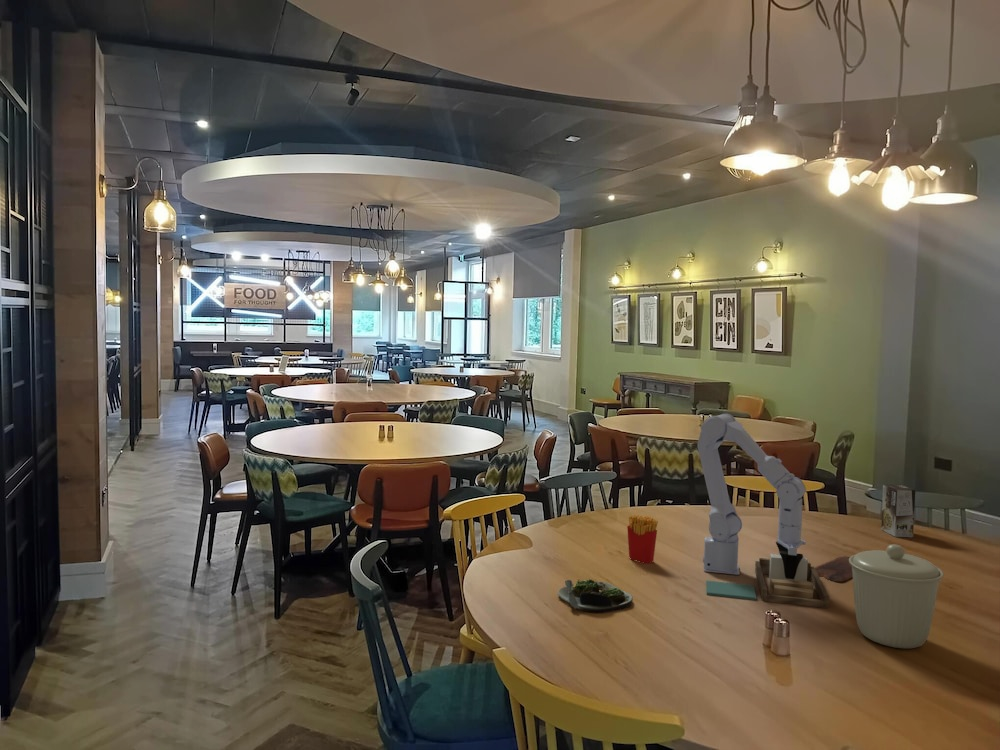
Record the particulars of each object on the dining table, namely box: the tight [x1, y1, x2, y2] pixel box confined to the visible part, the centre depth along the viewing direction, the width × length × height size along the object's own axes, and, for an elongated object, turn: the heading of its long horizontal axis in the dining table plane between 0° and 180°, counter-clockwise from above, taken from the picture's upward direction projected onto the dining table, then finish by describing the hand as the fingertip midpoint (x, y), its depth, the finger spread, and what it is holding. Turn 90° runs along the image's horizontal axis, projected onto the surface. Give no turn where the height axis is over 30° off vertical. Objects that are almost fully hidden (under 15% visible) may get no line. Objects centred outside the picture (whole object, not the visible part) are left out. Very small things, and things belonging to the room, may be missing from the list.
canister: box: [849, 543, 945, 650], centre depth 153 cm, size 18×18×21 cm
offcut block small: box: [774, 585, 814, 599], centre depth 176 cm, size 9×2×3 cm, turn 69°
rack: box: [754, 557, 830, 609], centre depth 183 cm, size 15×23×4 cm
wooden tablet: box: [814, 555, 853, 584], centre depth 200 cm, size 26×2×10 cm
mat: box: [705, 580, 757, 601], centre depth 181 cm, size 12×9×1 cm
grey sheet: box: [768, 553, 809, 583], centre depth 186 cm, size 9×3×8 cm, turn 74°
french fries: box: [626, 514, 659, 564], centre depth 204 cm, size 9×4×13 cm, turn 50°
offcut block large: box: [769, 579, 814, 595], centre depth 179 cm, size 10×2×4 cm, turn 78°
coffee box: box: [880, 483, 917, 538], centre depth 236 cm, size 9×6×16 cm
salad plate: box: [557, 578, 633, 614], centre depth 175 cm, size 19×18×5 cm
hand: (787, 573), depth 186 cm, fingers open, 7 cm apart
